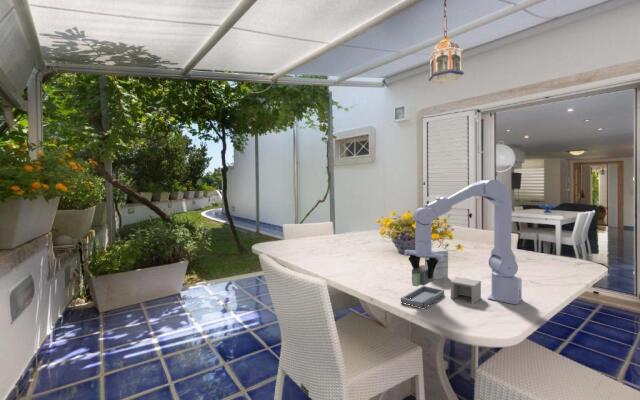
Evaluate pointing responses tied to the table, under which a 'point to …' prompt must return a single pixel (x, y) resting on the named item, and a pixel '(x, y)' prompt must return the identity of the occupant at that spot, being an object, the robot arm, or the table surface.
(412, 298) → the tray
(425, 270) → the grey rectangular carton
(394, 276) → the table surface
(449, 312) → the table surface
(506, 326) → the table surface
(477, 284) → the sleeve
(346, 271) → the table surface
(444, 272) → the supplement box
